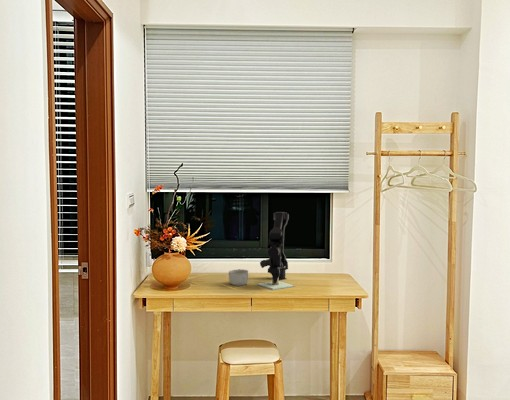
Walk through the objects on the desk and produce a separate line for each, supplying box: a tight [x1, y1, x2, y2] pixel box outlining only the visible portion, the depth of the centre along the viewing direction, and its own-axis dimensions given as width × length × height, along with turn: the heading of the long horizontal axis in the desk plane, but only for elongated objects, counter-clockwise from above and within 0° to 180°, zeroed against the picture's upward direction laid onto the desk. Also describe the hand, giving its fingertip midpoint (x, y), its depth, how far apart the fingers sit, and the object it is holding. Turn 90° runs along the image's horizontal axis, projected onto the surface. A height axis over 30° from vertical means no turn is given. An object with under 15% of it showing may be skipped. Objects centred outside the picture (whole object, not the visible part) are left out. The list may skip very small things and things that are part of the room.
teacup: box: [228, 268, 249, 287], centre depth 322 cm, size 14×11×8 cm
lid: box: [257, 276, 294, 291], centre depth 318 cm, size 14×14×5 cm
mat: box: [255, 283, 297, 291], centre depth 318 cm, size 16×16×1 cm
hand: (275, 282), depth 318 cm, fingers closed on lid, 3 cm apart
